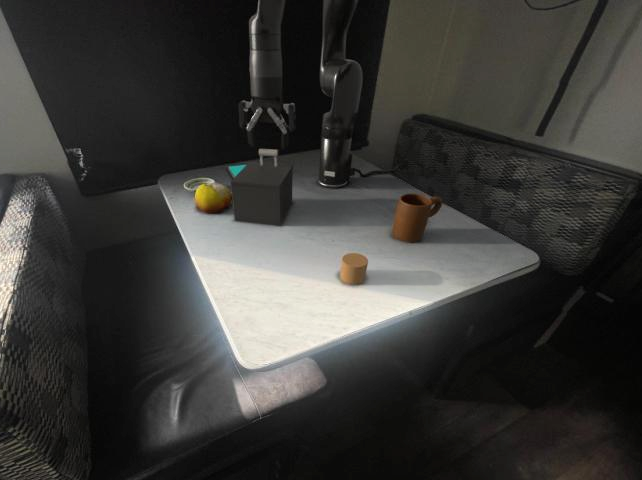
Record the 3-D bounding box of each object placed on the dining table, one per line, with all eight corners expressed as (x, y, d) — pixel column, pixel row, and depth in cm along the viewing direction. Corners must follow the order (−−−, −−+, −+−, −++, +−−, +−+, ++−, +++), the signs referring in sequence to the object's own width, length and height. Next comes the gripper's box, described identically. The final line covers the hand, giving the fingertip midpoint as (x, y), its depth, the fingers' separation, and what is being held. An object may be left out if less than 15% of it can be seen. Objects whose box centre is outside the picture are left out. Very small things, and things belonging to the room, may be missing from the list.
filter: (354, 267, 73) (357, 250, 70) (370, 280, 69) (373, 262, 66) (334, 274, 71) (336, 257, 68) (350, 287, 67) (352, 269, 64)
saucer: (199, 182, 110) (198, 175, 108) (222, 188, 106) (221, 181, 104) (178, 192, 103) (176, 185, 102) (201, 199, 100) (200, 191, 98)
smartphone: (236, 181, 108) (227, 166, 119) (236, 183, 109) (228, 168, 119) (258, 178, 110) (247, 164, 121) (258, 181, 111) (247, 166, 121)
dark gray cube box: (251, 198, 100) (248, 165, 94) (292, 202, 98) (292, 169, 92) (234, 220, 89) (230, 184, 83) (280, 225, 87) (279, 189, 81)
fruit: (238, 210, 93) (227, 184, 87) (204, 225, 93) (190, 200, 87) (232, 194, 101) (221, 169, 95) (200, 207, 101) (187, 183, 95)
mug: (423, 223, 88) (433, 188, 82) (443, 236, 83) (455, 200, 77) (384, 231, 85) (392, 195, 79) (403, 245, 80) (413, 208, 74)
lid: (249, 164, 94) (248, 145, 91) (293, 167, 92) (293, 148, 89) (230, 184, 83) (228, 163, 80) (279, 189, 81) (279, 167, 77)
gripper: (299, 73, 79) (297, 145, 90) (242, 70, 82) (247, 141, 92) (292, 76, 74) (291, 153, 84) (231, 74, 76) (237, 149, 86)
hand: (268, 147), depth 88 cm, fingers open, 8 cm apart
